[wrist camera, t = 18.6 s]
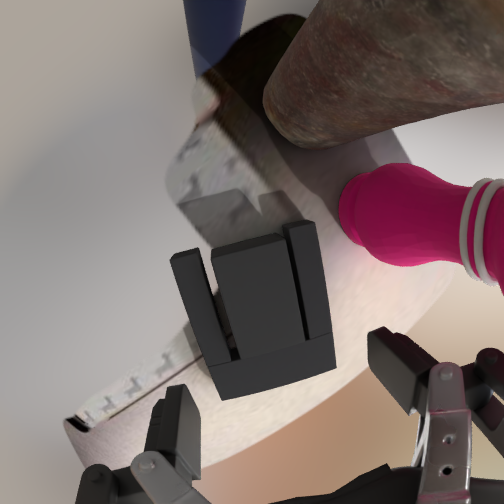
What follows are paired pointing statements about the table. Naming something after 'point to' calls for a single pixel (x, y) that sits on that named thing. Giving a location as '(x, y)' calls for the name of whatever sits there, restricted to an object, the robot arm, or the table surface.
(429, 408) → the robot arm
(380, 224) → the pepper mill
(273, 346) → the black block
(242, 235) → the table surface
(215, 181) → the table surface
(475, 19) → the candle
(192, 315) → the black u-shaped piece
